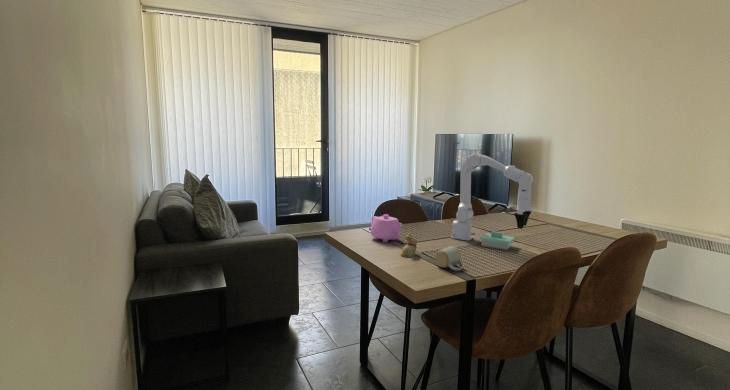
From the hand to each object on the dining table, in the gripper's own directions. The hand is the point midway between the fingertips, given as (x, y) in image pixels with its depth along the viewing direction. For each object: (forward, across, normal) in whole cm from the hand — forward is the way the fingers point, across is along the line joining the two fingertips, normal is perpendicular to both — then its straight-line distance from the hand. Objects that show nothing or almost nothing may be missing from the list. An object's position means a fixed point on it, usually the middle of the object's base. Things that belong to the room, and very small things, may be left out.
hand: (521, 226), depth 187 cm
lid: (+7, -5, +10) cm, 13 cm away
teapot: (+10, -27, +59) cm, 66 cm away
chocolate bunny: (+10, -43, +38) cm, 58 cm away
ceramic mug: (+10, -48, +17) cm, 52 cm away
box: (+10, -5, +10) cm, 15 cm away
